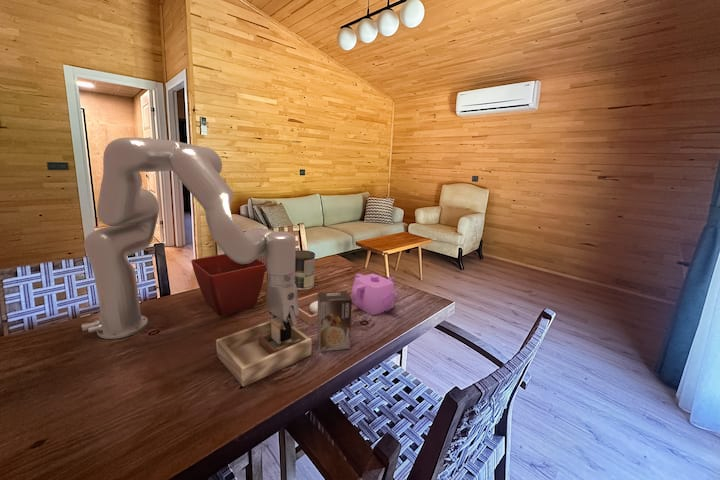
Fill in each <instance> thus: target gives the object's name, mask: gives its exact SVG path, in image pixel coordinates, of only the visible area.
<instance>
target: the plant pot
mask: <svg viewBox="0 0 720 480" xmlns="http://www.w3.org/2000/svg"><path fill="white" fill-rule="evenodd" d="M191 265H192V269H193V273H194V276H195V279H196V281H197V284H198V287H199V290H200V293H201V294H202V296H203V298H204V302H206V304H207V306H208V307H209V308H210V309H211V310H212V311H214V313H215V314H216V315H218V317H224V316H229V315H233V314H234V313H238V312H239V313H240V312H242V311H244V310H248V309H253V308H254V307H256V304H257V302H258V299H259V296H260V293H261V290H262V286H263V283H264V278H265V274H266V273H265V272H266V268H267V263H265V262H264V261H262V260H260V259H258V258H257V259H256V260H254V261H252V262H251V263H248V264H239V263H236V262H234V261H233V260H231V259H230V258H229V257H228V256H227V255H226V254H225V253H221V254H216V255H211V256H205V257H200V258H199V257H198V258H193V259H192V260H191Z"/></svg>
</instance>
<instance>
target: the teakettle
mask: <svg viewBox="0 0 720 480" xmlns="http://www.w3.org/2000/svg"><path fill="white" fill-rule="evenodd" d="M353 280H354V281H353V284H352V289H351V293H350V297H351V299H352V304H353V306H355V307H356V308H358V309H360V310H361V311H363V312H365V313H367V314H369V315H371V314H372V315H371V316H377V314H378V315H380V314H379V313H381V314H383V313H385V312H384V311H386V312H388V311H390V310H389V309H391V308H392V309H394V308H395V307H394V306H395V304H396V298H397V297H398V295H399V293H397V292H396V289H395V284H394V282H395V278H394V277H393V276H389V277H388V278H386V277H383V276H381V275H379V274H375V273H370V274H365V275H364V274H361V273H356V274H354V278H353ZM392 309H391V310H392ZM387 310H388V311H387ZM382 312H383V313H382Z"/></svg>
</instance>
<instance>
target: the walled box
mask: <svg viewBox="0 0 720 480" xmlns="http://www.w3.org/2000/svg"><path fill="white" fill-rule="evenodd" d="M312 342H313V341H312V338H310V336H307V334H305V333H304V332H303V331H301V330H300V329H298V328H296V327H295V325H293V326H292V327H291V339H290V340H287V341H285V342H283V343H280V344H278V343H277V342H276V341H275V340H273V339H272V338H271V320H269V321H266V322H263V323H260V324H257V325H254V326H251V327H248V328H246V329H243V330H240V331H237V332H234V333H231V334H229V335H226V336H222V337H220V338H217V339H215V344H216V356H217V357H218V359H219V360H220V361H221V362H222V363H223V365H225V367H226V369H227V370H229V372H230V373H231V375H232V376H233V377H234V378H235V379H236V380H237V382H238V383H239V384H240V385H241V386H242V387H243V388H245V387H247V386H249V385H251V384H253V383H255V382H258V381H259V380H261V379H264V378H265V377H268V376H270V375H272V374H274V373H276V372H279V371H281V370H283V369H285V368H287V367H289V366H291V365H293V364H295V363H297V362H300V361H301V360H303V359H305V358H308V357H309V356H312V344H313V343H312Z"/></svg>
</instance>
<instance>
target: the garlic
mask: <svg viewBox="0 0 720 480" xmlns="http://www.w3.org/2000/svg"><path fill="white" fill-rule="evenodd" d="M308 308H309V311H310V312H311V313H312V315H313V314H316V313H318V301H315V302H313V303H310V305H309V307H308Z"/></svg>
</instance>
